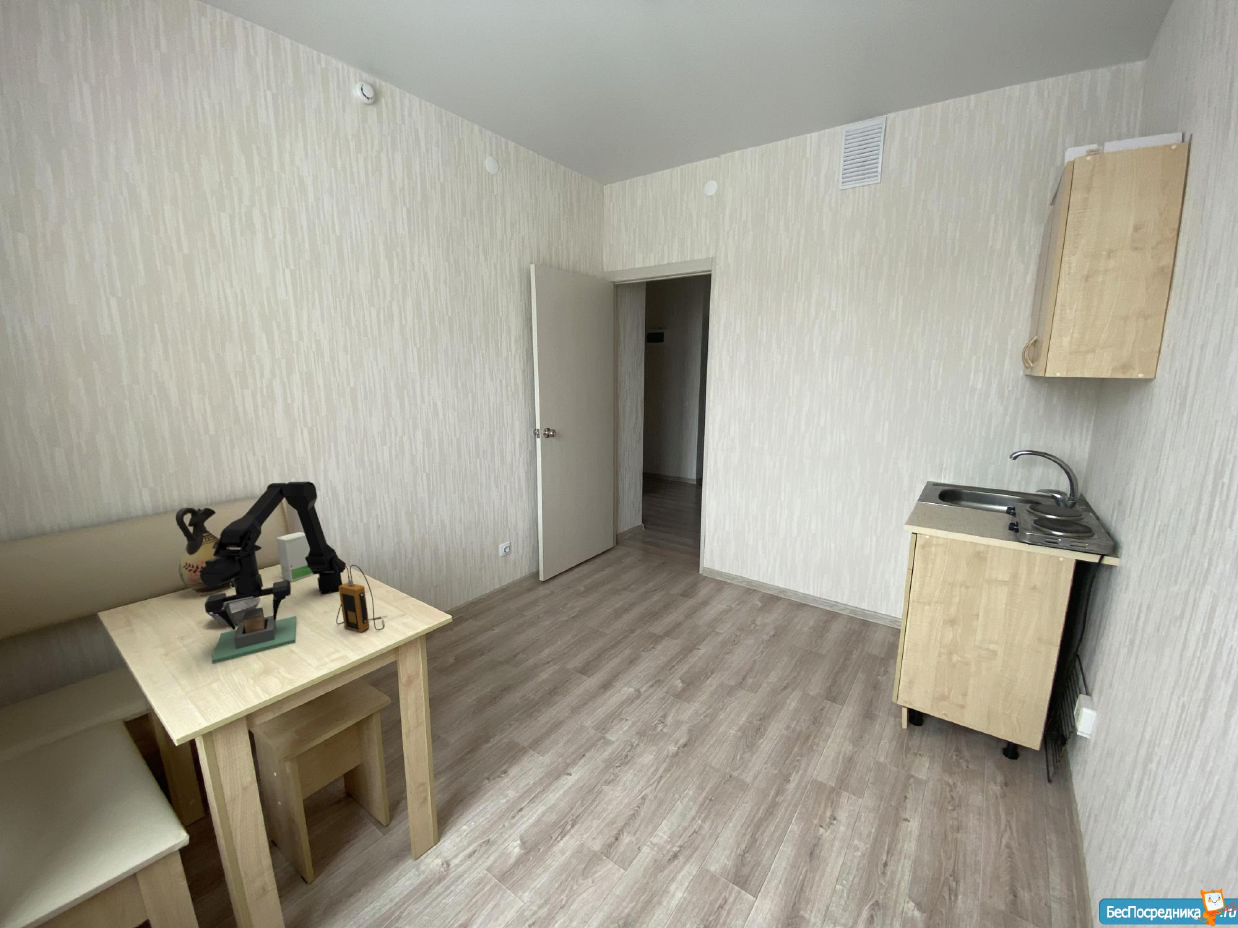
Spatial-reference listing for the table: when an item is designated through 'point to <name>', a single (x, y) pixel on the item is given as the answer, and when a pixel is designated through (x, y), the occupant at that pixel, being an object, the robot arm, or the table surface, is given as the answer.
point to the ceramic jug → (197, 550)
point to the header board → (255, 639)
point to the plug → (254, 620)
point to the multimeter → (355, 605)
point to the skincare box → (293, 556)
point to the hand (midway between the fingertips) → (255, 624)
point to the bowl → (238, 610)
